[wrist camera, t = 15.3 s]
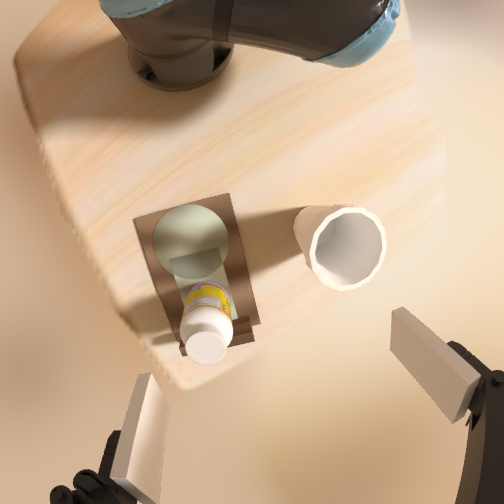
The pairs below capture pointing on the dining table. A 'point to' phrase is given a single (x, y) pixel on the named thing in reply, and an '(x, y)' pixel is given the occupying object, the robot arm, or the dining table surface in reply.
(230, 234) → the keyhole board
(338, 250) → the foam cup
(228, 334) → the supplement bottle
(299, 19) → the robot arm
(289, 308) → the dining table surface
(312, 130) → the dining table surface
